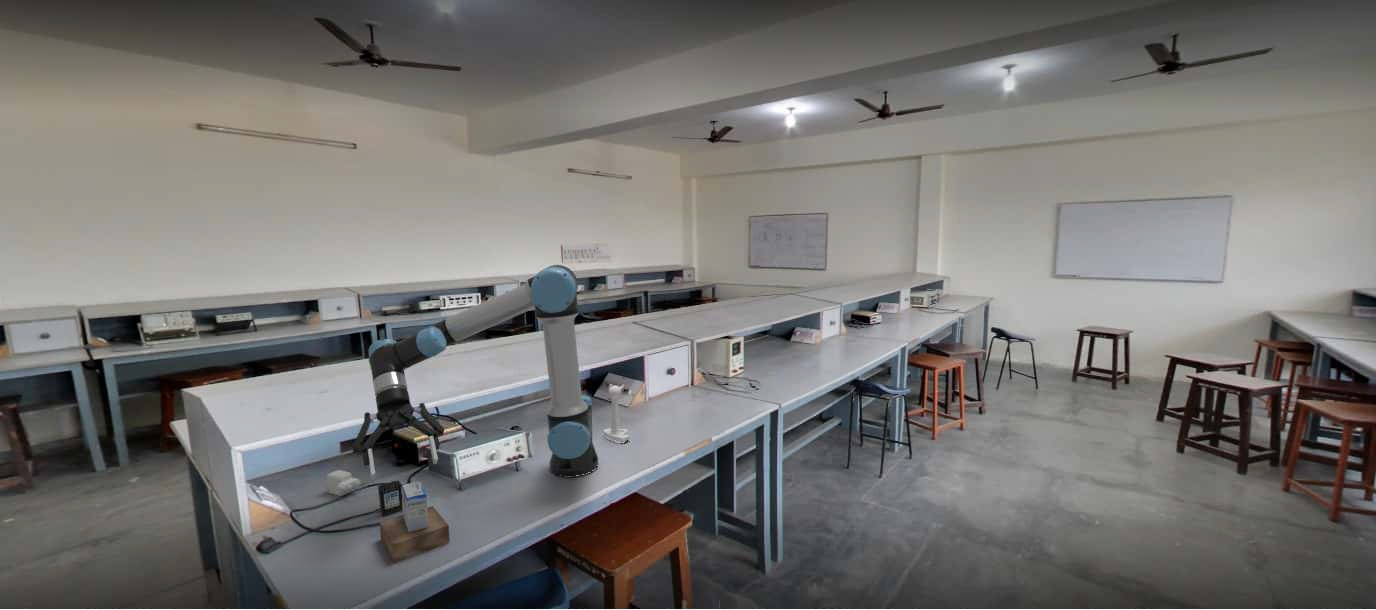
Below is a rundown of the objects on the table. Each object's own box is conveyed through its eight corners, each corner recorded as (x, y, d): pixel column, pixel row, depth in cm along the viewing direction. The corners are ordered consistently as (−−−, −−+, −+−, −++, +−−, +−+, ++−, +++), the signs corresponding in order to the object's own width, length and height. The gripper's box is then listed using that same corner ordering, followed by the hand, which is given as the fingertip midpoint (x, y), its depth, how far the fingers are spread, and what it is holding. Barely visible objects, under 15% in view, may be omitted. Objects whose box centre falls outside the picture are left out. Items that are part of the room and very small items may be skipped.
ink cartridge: (382, 517, 138) (379, 488, 137) (380, 513, 140) (377, 485, 139) (403, 510, 142) (400, 482, 140) (401, 507, 143) (398, 479, 142)
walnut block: (433, 524, 136) (432, 505, 136) (449, 544, 128) (448, 525, 127) (381, 541, 128) (379, 522, 128) (394, 565, 120) (392, 544, 119)
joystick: (600, 436, 194) (600, 383, 191) (616, 431, 199) (616, 379, 196) (620, 445, 186) (620, 390, 183) (636, 439, 192) (636, 385, 189)
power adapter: (369, 494, 150) (367, 474, 149) (352, 502, 146) (351, 482, 145) (341, 486, 154) (339, 467, 153) (324, 494, 150) (323, 474, 149)
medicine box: (402, 518, 129) (400, 484, 128) (422, 513, 132) (421, 480, 131) (407, 533, 123) (405, 498, 122) (428, 527, 126) (427, 493, 125)
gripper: (441, 392, 149) (457, 462, 139) (335, 409, 134) (344, 489, 124) (444, 378, 144) (461, 449, 134) (334, 395, 129) (344, 476, 119)
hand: (405, 469), depth 129 cm, fingers open, 13 cm apart
